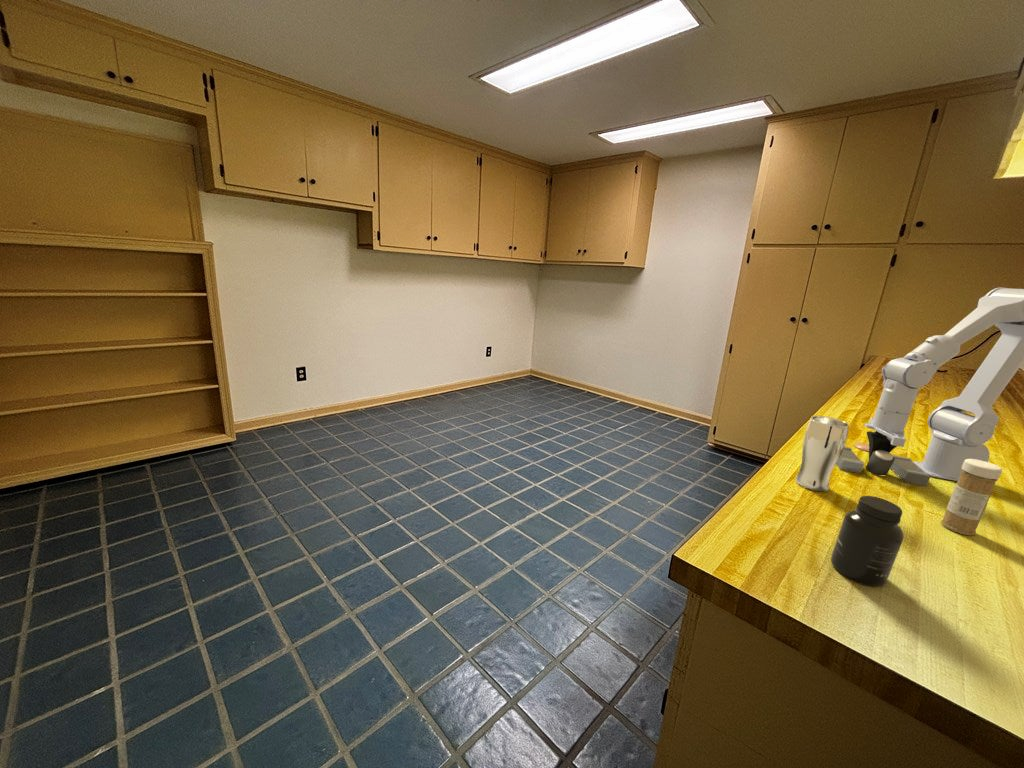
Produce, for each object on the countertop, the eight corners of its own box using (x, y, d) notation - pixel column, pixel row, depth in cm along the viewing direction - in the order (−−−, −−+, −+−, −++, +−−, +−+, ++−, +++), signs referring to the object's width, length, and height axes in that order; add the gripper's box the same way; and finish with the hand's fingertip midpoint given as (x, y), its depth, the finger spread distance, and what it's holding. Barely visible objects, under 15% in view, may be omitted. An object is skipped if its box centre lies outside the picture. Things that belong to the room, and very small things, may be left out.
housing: (906, 468, 101) (909, 458, 100) (926, 486, 92) (930, 475, 91) (828, 453, 107) (831, 443, 106) (840, 469, 98) (843, 459, 97)
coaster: (877, 446, 113) (877, 445, 113) (886, 455, 108) (886, 453, 108) (850, 442, 116) (851, 441, 115) (858, 450, 110) (858, 448, 110)
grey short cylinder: (883, 466, 99) (891, 450, 96) (889, 478, 95) (898, 461, 93) (863, 463, 100) (870, 447, 97) (868, 474, 97) (876, 458, 94)
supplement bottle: (818, 556, 66) (839, 491, 63) (857, 556, 67) (879, 491, 63) (856, 589, 59) (881, 517, 56) (899, 588, 60) (926, 517, 57)
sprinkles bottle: (977, 531, 76) (1005, 466, 72) (971, 539, 73) (1000, 471, 69) (942, 518, 79) (968, 455, 76) (936, 525, 77) (962, 460, 73)
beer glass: (826, 482, 91) (845, 419, 87) (834, 496, 85) (855, 429, 81) (789, 474, 94) (806, 412, 90) (795, 487, 88) (813, 422, 84)
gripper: (861, 398, 103) (845, 447, 107) (884, 415, 90) (865, 471, 94) (896, 404, 100) (878, 454, 104) (925, 422, 87) (904, 479, 91)
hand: (874, 462), depth 99 cm, fingers closed, pressing on grey short cylinder
